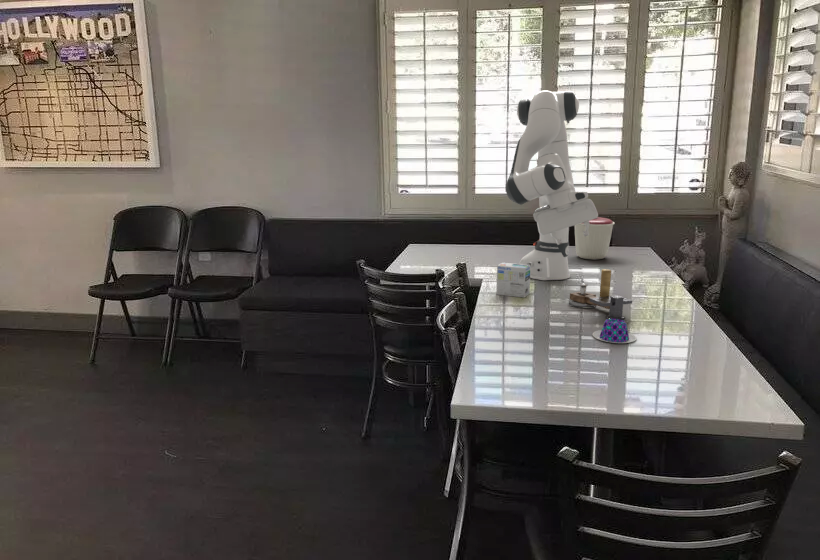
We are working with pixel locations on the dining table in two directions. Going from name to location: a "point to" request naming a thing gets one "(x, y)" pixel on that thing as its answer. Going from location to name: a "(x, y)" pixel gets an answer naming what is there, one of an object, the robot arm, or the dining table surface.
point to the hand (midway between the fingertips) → (573, 239)
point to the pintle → (583, 293)
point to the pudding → (614, 332)
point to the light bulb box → (513, 279)
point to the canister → (593, 238)
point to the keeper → (612, 305)
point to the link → (603, 293)
